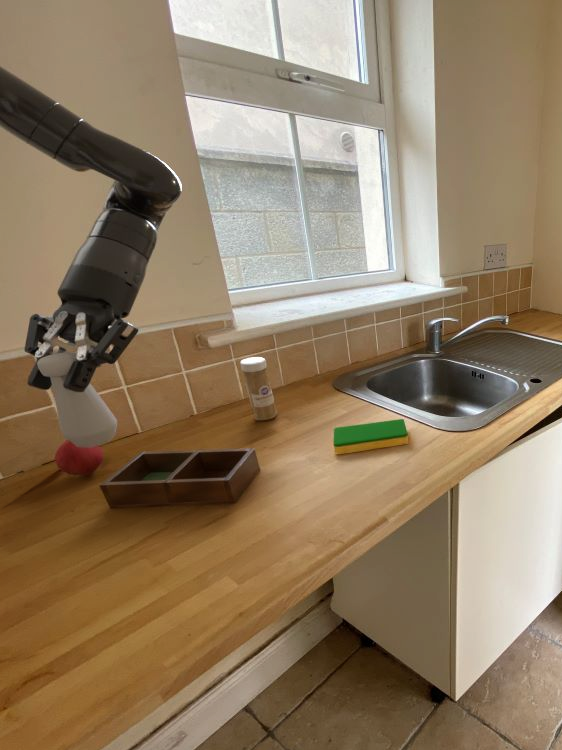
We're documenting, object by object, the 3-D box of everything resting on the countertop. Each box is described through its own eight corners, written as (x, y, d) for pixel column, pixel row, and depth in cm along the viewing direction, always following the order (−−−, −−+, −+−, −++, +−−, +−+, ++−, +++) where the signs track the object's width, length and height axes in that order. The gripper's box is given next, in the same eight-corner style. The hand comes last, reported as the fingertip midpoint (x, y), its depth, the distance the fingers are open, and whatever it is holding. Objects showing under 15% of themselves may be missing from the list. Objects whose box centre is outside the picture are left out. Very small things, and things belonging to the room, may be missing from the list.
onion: (57, 480, 76) (36, 440, 73) (96, 463, 81) (78, 424, 78) (79, 488, 75) (59, 447, 71) (118, 470, 80) (101, 431, 76)
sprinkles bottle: (266, 423, 97) (251, 365, 91) (249, 419, 98) (234, 361, 92) (282, 414, 101) (269, 357, 95) (266, 410, 102) (252, 354, 96)
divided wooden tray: (109, 509, 70) (98, 485, 68) (149, 473, 79) (140, 451, 77) (235, 503, 73) (228, 480, 71) (260, 469, 81) (254, 448, 79)
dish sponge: (408, 444, 91) (407, 434, 90) (335, 455, 86) (333, 444, 85) (404, 428, 97) (403, 418, 96) (335, 437, 92) (333, 427, 91)
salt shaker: (77, 434, 66) (37, 351, 60) (127, 427, 68) (93, 346, 62) (61, 454, 61) (17, 365, 55) (115, 445, 63) (78, 359, 58)
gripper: (31, 259, 61) (-30, 374, 56) (130, 264, 60) (78, 382, 55) (84, 290, 68) (35, 395, 63) (173, 295, 68) (131, 401, 62)
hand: (55, 388), depth 59 cm, fingers closed on salt shaker, 4 cm apart
